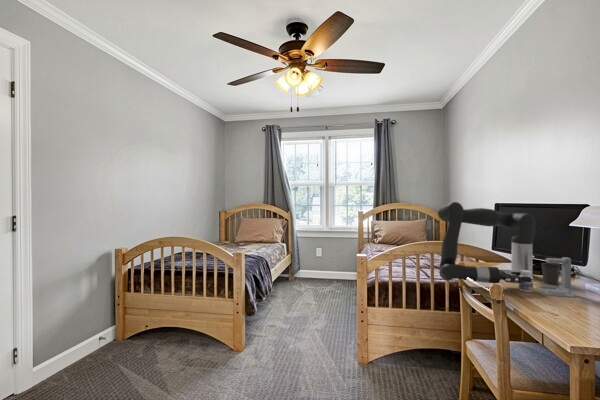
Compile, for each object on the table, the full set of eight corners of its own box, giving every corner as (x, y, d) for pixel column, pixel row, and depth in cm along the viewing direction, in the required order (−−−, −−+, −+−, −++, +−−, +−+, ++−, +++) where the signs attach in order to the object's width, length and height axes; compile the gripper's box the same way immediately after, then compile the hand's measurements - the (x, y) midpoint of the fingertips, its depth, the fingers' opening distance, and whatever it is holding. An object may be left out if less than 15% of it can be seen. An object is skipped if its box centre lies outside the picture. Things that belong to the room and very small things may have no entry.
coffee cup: (566, 285, 145) (566, 264, 144) (548, 285, 145) (549, 264, 145) (552, 281, 153) (552, 261, 152) (535, 281, 153) (536, 261, 153)
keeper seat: (536, 288, 141) (536, 254, 141) (562, 290, 138) (563, 255, 138) (547, 295, 132) (547, 259, 131) (575, 297, 129) (575, 260, 128)
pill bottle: (518, 287, 142) (518, 268, 142) (532, 289, 139) (532, 270, 139) (519, 291, 137) (519, 271, 137) (534, 292, 134) (534, 272, 134)
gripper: (491, 270, 136) (534, 272, 131) (482, 263, 149) (520, 265, 145) (491, 287, 136) (533, 290, 131) (482, 278, 149) (520, 281, 145)
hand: (527, 277), depth 138 cm, fingers open, 8 cm apart
